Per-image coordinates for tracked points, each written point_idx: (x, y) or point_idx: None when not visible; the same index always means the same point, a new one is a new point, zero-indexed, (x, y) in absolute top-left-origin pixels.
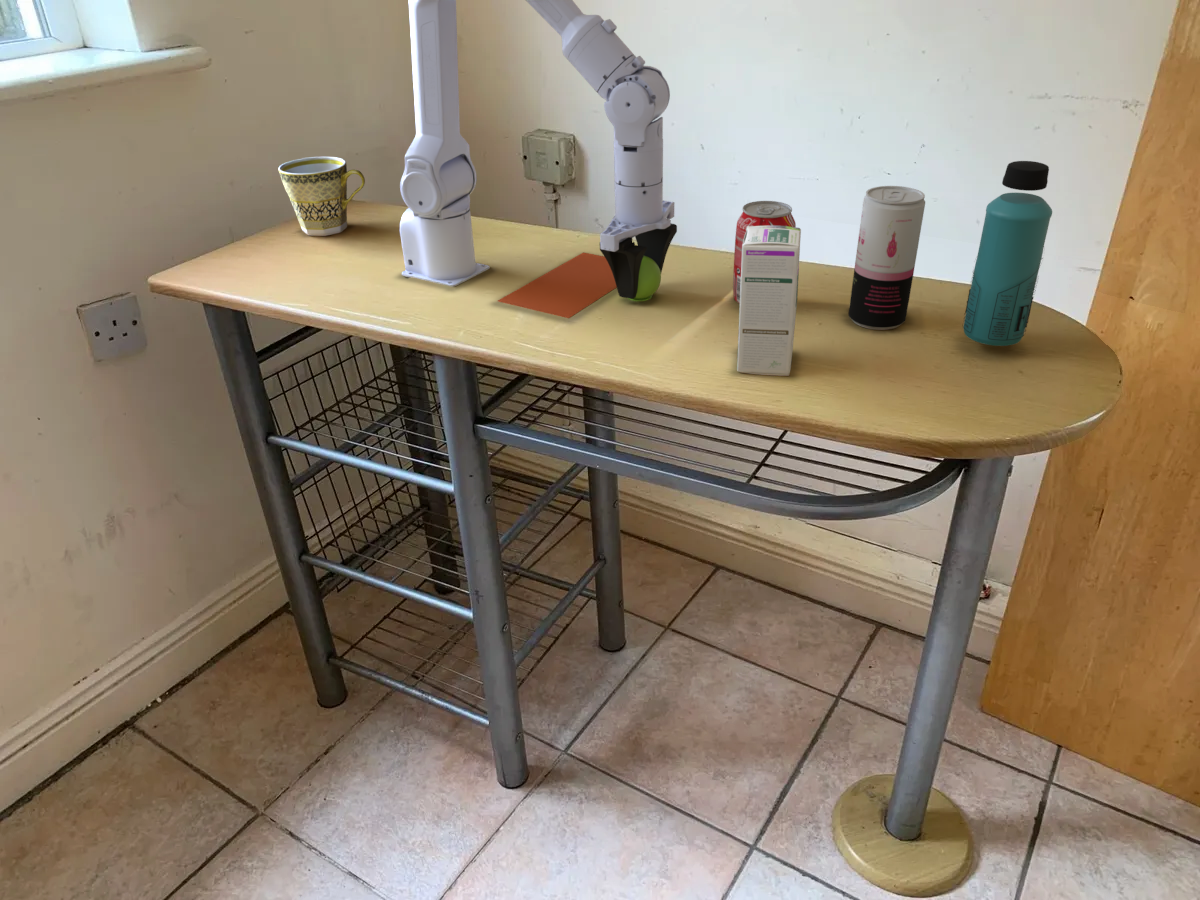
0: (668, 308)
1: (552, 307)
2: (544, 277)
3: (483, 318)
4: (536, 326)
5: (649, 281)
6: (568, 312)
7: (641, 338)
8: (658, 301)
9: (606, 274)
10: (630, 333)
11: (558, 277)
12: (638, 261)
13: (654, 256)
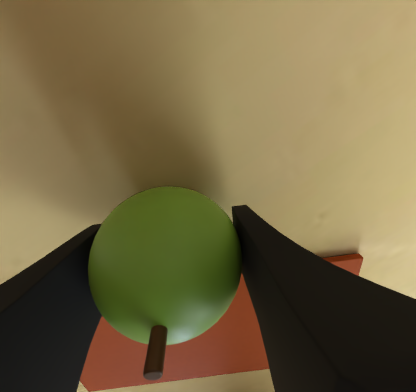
0: (175, 117)
1: None
2: (217, 370)
3: None
4: (398, 277)
5: (198, 206)
6: None
7: (411, 44)
8: (154, 171)
9: None
10: (383, 99)
11: (203, 361)
12: (336, 289)
13: (61, 303)
